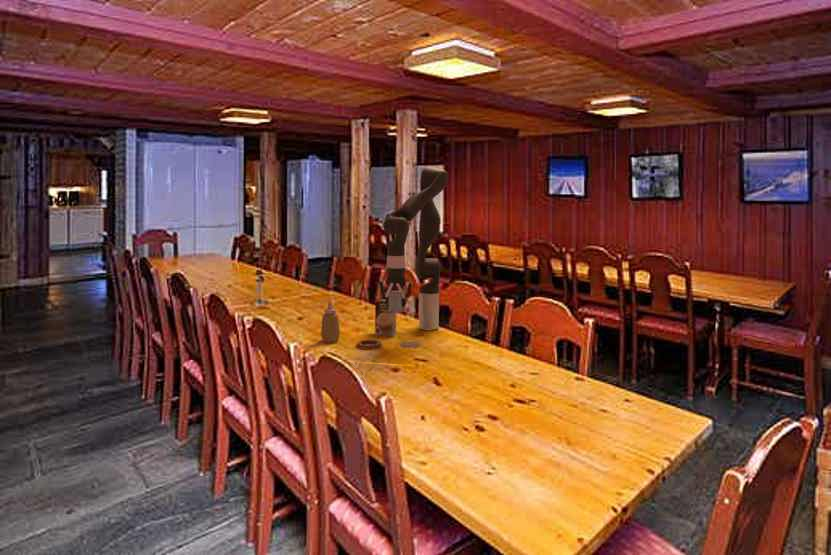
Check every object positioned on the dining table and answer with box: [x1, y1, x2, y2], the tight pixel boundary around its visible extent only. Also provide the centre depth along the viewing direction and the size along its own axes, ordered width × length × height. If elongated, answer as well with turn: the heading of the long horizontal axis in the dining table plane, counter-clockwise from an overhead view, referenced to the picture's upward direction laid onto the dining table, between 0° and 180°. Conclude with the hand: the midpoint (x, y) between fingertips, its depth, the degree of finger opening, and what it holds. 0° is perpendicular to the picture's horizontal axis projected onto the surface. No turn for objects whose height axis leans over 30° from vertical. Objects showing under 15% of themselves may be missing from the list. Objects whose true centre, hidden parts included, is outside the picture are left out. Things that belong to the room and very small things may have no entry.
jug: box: [389, 290, 404, 314], centre depth 226 cm, size 11×6×8 cm, turn 168°
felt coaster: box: [398, 341, 422, 349], centre depth 232 cm, size 9×9×1 cm
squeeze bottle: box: [320, 300, 341, 344], centre depth 235 cm, size 8×8×18 cm
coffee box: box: [374, 298, 397, 337], centre depth 248 cm, size 9×6×16 cm
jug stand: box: [354, 338, 384, 352], centre depth 229 cm, size 12×12×2 cm
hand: (395, 306), depth 229 cm, fingers closed on jug, 5 cm apart
